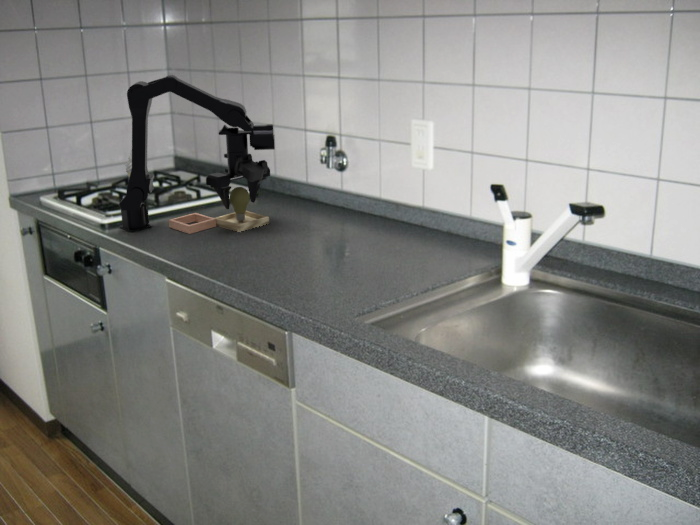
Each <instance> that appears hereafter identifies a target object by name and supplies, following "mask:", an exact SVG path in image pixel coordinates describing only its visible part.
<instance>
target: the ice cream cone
mask: <svg viewBox="0 0 700 525" xmlns="http://www.w3.org/2000/svg"><path fill="white" fill-rule="evenodd" d="M127 159H128V161H127V162H126V164H125V170H126V171H125V172H126V173H127V176H128V178H129V177H130V174H131V170H132V149H130V155H129V156H128V158H127Z"/></svg>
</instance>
